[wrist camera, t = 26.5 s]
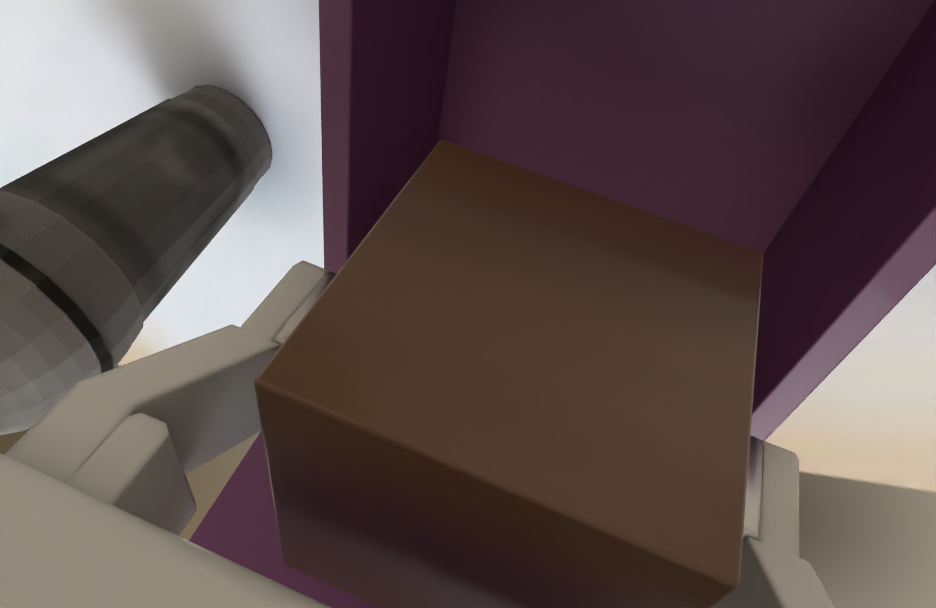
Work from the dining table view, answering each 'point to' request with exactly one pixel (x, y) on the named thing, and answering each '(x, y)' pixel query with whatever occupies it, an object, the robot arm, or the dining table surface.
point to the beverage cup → (113, 239)
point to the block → (518, 402)
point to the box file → (668, 136)
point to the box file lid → (259, 532)
